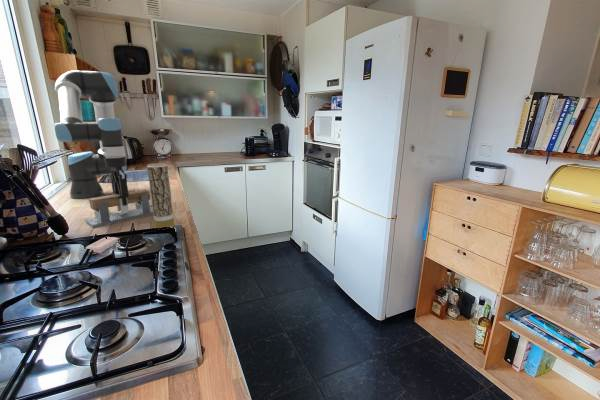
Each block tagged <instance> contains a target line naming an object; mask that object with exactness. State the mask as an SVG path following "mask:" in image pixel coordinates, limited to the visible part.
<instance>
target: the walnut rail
mask: <svg viewBox="0 0 600 400" xmlns="http://www.w3.org/2000/svg"><path fill="white" fill-rule="evenodd" d="M128 194H129V197H127V201H128V205H130V204H135V202H141V199H140V196H141V195H148V198H149V201H151V191H150V190H147V189H141V190H136V191H130V192H129V191H128ZM118 197H120V195H119V194H115V195H114V194H111V195H110V194H109V195H101V196H96V197H90V198H88V201H89V205H90V206H89V207H90V209H91V210H92V211H94V210H97V209H99V208H98V203H100V202H107V205H108V208H113V207H117V206H119V205H120V200H119V199H118Z"/></svg>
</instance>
